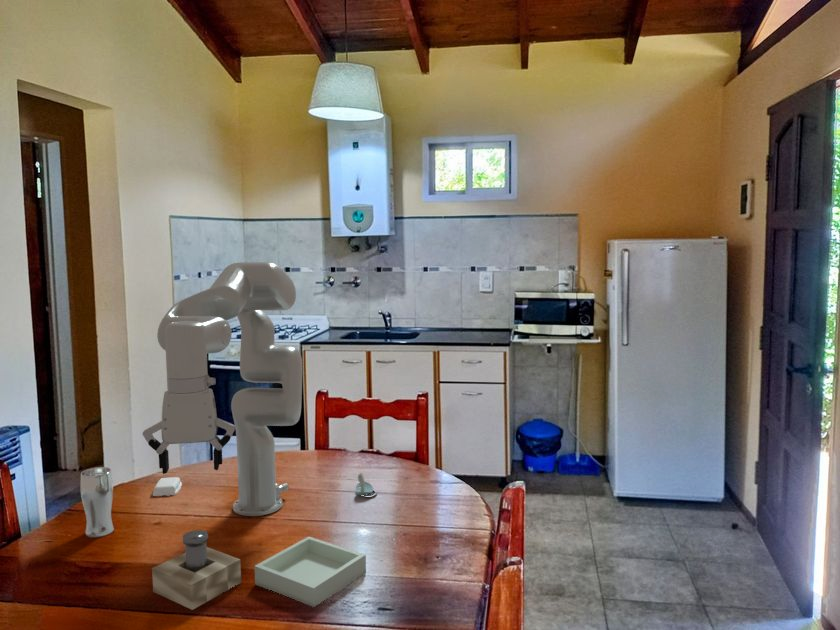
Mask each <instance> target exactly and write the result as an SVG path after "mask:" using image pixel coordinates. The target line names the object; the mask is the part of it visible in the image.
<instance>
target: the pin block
mask: <svg viewBox="0 0 840 630" xmlns="http://www.w3.org/2000/svg"><path fill="white" fill-rule="evenodd" d="M206 548H207V567H205V568H203V569H201V570H199V571H197V572H195V573H194V572H192V571H189V570H187V569H186V552H182V553H181V554H180V555H177V556H175V557H173V558H170V559H168V560H167V561H164V562H162V563H160V564H157V565H156V566H154V567H152V568H151V574H152V592H153V593H155V594H157V595H160V596H162V597H163V598H165V599H168V600H170V601H172V602H174V603H176V604H179V605H181V606H183V607H185V608H188V609H189V610H191V611H193V610H195V609H197V608H199V607H200V606H202V605H204V604H206V603H207V602H209V601H211V600H213V599H215V598H217V597H219V596H220V595H222V594H223V592H224V593H225V592H227V591H229V590H230V588H231V589H232V587H233V588H235V587H236V586H238V585H240V584H241V583H242V571H241V569H242V568H241V567H242V565H241V559H240V558H238V557H235V556H232V555H229V554H227V553H224V552H221V551H219V550H216V549H214V548H211V547H208V546H206ZM235 585H236V586H235Z"/></svg>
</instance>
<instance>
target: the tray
mask: <svg viewBox="0 0 840 630" xmlns="http://www.w3.org/2000/svg"><path fill="white" fill-rule="evenodd" d="M366 560H367V555H366V554H365V553H362V552H358V551H355V550H352V549H349V548H347V547H346V548H345V547H344V546H340V545H336V544H334V543H331V542H327V541H326V540H325V541H324V540H321V539H318V538H315V537H312V536H307V537H305V538H303V539H301V540H300V541H298V542H296V543H294V544H292V545H290V546H288V547H287V548H285V549H283V550H281V551H279V552H277V553H276V554H274V555H271V556H270V557H268V558H266V559H264V560H263V561H260V562H258V563H257V564H255V565H254V584H255V586H258V587H261V588H262V587H263V588H262V589H265V590H267V589H268V591H270V590H272V591H274V592H273V593H275V592H277V593H279V594H278V595H280V594H282V595H285V596H287V597H290V598H292V599H295V600H297V601H300V602H302V603H305V604H308V605H310V606H312V607H311V608H313V607H315V606H316V605H318V604H320V603H321V602H322V601H324V600H325V601H327V600H328V599H330V598H331V597H332V596H331V595H333V594H334V593H336V592H337V591H339V590H340V589H342V588H343V589H345V588H346V587H348V586H349V585H350V584H352V583H353V582H355V581H356V580H358V579H359V578H361V577H362V576H363V574H364V573H365V574H366V573H367V561H366ZM365 574H364V575H365ZM360 576H361V577H360ZM358 577H359V578H358ZM357 578H358V579H357ZM355 579H356V580H355ZM354 580H355V581H354ZM352 581H353V582H352ZM351 582H352V583H351ZM348 584H349V585H348ZM345 586H346V587H345ZM344 587H345V588H344ZM343 589H342V590H343ZM272 591H271V592H272ZM340 591H341V590H340ZM340 591H339V592H340ZM277 593H276V594H277ZM337 593H338V592H337ZM337 593H336V594H337ZM282 595H281V596H282ZM334 595H335V594H334ZM334 595H333V596H334ZM285 596H284V597H285ZM330 596H331V597H330ZM287 597H286V598H287ZM329 597H330V598H329ZM290 598H289V599H290ZM327 598H328V599H327ZM292 599H291V600H292ZM326 599H327V600H326ZM295 600H294V601H295ZM297 601H296V602H297ZM325 601H324V602H325ZM300 602H299V603H300ZM302 603H301V604H302ZM322 603H323V602H322ZM322 603H321V604H322ZM305 604H304V605H305ZM321 604H320V605H321ZM308 605H307V606H308ZM310 606H309V607H310ZM318 606H319V605H318ZM315 608H316V607H315Z"/></svg>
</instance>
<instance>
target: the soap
mask: <svg viewBox="0 0 840 630" xmlns="http://www.w3.org/2000/svg"><path fill="white" fill-rule="evenodd" d="M182 485H183V483H182V481H181V478H180V477H178V476H175V477H173V476H172V477H171V476H170V477H162V478H160V479H158V481H157V483H156V484H155V486H154V489H153V491H152V497H153V496H161V497H162V496H167V497H171V496H170V495H174V496H177V495H178V494H179V493H180V491H181V489H182V487H181V486H182ZM179 490H180V491H179ZM177 493H178V494H177ZM176 494H177V495H176Z"/></svg>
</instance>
